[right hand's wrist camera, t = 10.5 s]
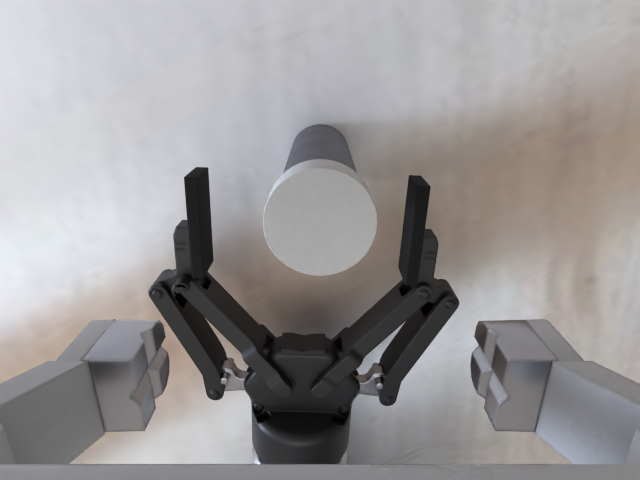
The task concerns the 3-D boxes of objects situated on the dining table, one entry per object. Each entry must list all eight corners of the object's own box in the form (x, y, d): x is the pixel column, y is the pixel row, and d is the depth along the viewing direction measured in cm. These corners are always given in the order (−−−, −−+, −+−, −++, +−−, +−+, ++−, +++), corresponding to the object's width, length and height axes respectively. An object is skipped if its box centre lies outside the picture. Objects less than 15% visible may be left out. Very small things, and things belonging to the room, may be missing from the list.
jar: (315, 192, 34) (312, 283, 20) (280, 148, 32) (249, 213, 18) (359, 158, 33) (389, 228, 19) (324, 112, 32) (329, 150, 18)
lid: (311, 277, 21) (311, 295, 19) (245, 202, 20) (238, 215, 18) (393, 219, 20) (400, 233, 18) (329, 136, 19) (330, 143, 17)
